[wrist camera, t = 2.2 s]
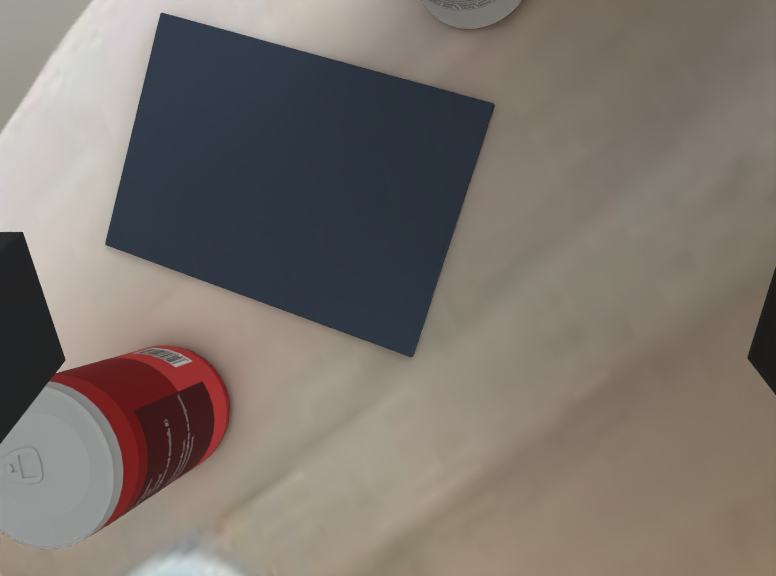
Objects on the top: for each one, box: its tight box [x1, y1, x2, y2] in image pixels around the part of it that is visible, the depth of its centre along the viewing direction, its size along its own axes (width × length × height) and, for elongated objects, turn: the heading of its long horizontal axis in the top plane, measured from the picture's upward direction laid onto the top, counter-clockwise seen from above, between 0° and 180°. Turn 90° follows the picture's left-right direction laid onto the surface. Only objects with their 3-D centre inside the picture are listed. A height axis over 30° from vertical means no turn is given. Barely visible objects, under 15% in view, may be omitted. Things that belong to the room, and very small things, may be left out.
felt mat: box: [105, 13, 494, 357], centre depth 36 cm, size 20×14×1 cm
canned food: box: [0, 346, 230, 549], centre depth 34 cm, size 8×8×11 cm
